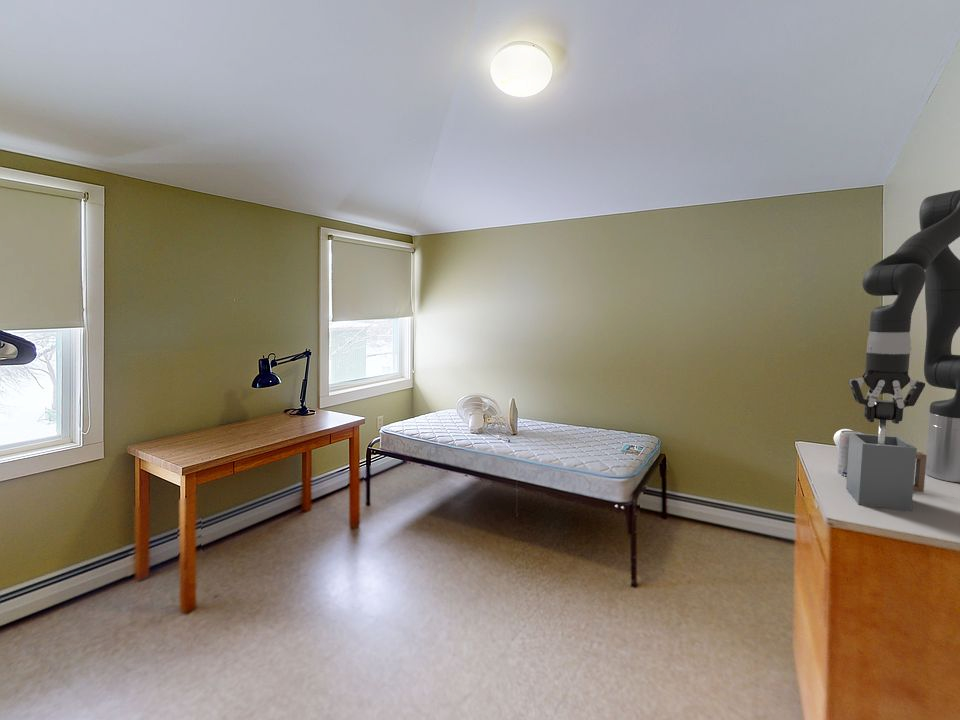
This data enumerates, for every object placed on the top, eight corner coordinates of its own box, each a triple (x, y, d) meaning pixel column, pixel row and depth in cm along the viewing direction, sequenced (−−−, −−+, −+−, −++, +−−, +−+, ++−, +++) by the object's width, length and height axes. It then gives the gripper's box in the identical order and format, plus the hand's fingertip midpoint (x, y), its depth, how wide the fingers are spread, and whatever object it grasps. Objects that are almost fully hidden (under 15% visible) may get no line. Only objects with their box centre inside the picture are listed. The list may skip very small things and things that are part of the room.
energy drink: (866, 478, 121) (869, 436, 119) (844, 477, 122) (847, 435, 120) (854, 471, 126) (857, 430, 124) (833, 470, 127) (835, 430, 126)
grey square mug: (911, 496, 109) (916, 437, 107) (930, 513, 100) (935, 449, 99) (846, 489, 115) (849, 432, 113) (858, 504, 106) (862, 443, 104)
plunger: (890, 482, 109) (897, 399, 107) (902, 493, 103) (910, 405, 101) (854, 478, 112) (860, 398, 110) (864, 488, 106) (870, 403, 104)
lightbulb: (848, 461, 133) (851, 426, 132) (864, 469, 127) (866, 432, 126) (827, 461, 134) (829, 426, 133) (841, 469, 128) (843, 432, 127)
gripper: (920, 349, 104) (914, 420, 106) (844, 349, 110) (840, 416, 112) (936, 353, 97) (929, 428, 99) (854, 352, 104) (850, 423, 106)
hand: (882, 421), depth 106 cm, fingers closed on plunger, 4 cm apart
